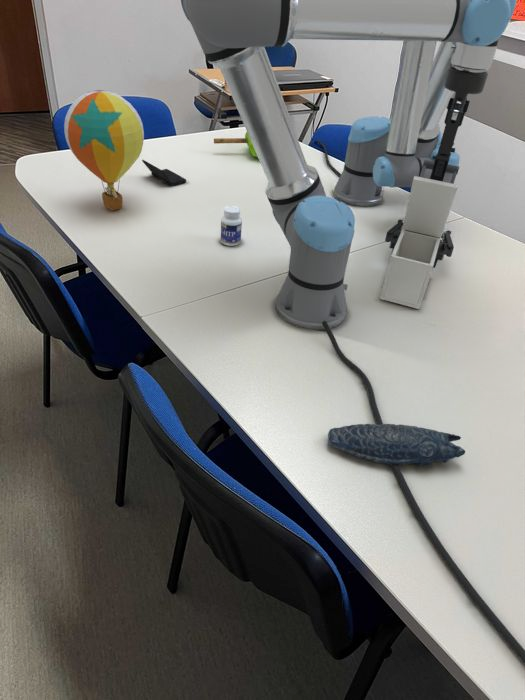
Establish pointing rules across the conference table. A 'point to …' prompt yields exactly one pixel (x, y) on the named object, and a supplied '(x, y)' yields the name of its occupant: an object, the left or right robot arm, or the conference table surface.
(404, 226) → the lid
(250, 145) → the decorative tree
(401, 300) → the chest
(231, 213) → the pill bottle
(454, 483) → the conference table surface
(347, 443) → the fish model
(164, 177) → the black block with spike
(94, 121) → the toy
